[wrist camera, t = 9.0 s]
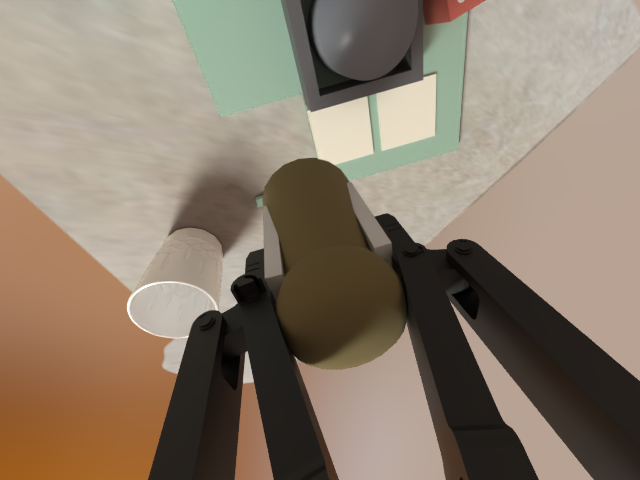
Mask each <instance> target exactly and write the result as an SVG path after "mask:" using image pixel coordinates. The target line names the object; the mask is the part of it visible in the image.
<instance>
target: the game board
mask: <svg viewBox="0 0 640 480" xmlns="http://www.w3.org/2000/svg"><path fill="white" fill-rule="evenodd" d="M172 1H173V4H174V6H175V9H176V11H177V13H178V16H179V18H180V21H181V23H182V25H183V28H184V30H185V33H186V35H187V37H188V40H189V42H190V45H191V47H192V49H193V52H194V54H195V57H196V59H197V61H198V64H199V66H200V69H201V71H202V74H203V76H204V78H205V81H206V83H207V86H208V88H209V90H210V93H211V95H212V98H213V100H214V102H215V105H216V107H217V110H218V112H219V114H220V117H223V116H227V115H230V114H234V113H237V112H241V111H244V110H248V109H251V108H255V107H258V106H261V105H265V104H268V103H272V102H275V101H279V100H282V99H286V98H289V97H293V96H296V95H300V94H302V95H303V100H304V104H305V108H306V112H307V116H308V121H309V125H310V129H311V133H312V137H313V141H314V146H315V150H316V154H317V158H318V159H321V160H325V161H329V162H330V163H332V164H333V165H335V166H337V167H338V168H340V169H341V170H342V172H343V173H344V174H345V176H346V177H347V178H348V180H349V181H352V180H355V179H358V178H362V177H365V176H369V175H372V174H376V173H379V172H382V171H386V170H389V169H393V168H396V167H400V166H403V165H406V164H410V163H413V162H417V161H420V160H424V159H427V158H430V157H434V156H437V155H441V154H444V153H448V152H451V151H454V150H458V145H459V131H460V117H461V103H462V89H463V74H464V60H465V46H466V32H467V18H468V11H467V12H466V13H464V14H463V15H461V16H459V17H458V18H456V19H454V20H453V21H451V22H445V23H437V24H430V25H426V23H425V19H424V14H423V0H418V19H417V26H416V30H415V34H414V37H413V40H412V42H411V45H410V47H409V49H408V51H407V52H406V54H405V56H404V57H403V58H402V60H401V61H400V62H399V63H398V64H397V66H395V67H394V68H393V69H392V70H391V71H390V72H388V73H387V74H385V75H383V76H381V77H379V78H376V79H373V80H366V81H361V80H355V79H351V78H348V77H346V76H343V75H340V74H337V73H335V72H333V71H331V70H329V69H328V68H326V67H325V66H324V65H323V64H322V63H321V62H320V61H319V59H318V58H317V56H316V54H315V52H314V51H313V48H312V45H311V42H310V38H309V32H308V16H309V10H310V6H311V3H312V0H172ZM262 199H263V195H261V196H257V197H255V201H256V204H257V206H258V208H259V207H263V202H262Z"/></svg>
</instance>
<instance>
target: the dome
mask: <svg viewBox="0 0 640 480" xmlns="http://www.w3.org/2000/svg"><path fill="white" fill-rule="evenodd" d="M417 19H418V0H312V3H311V6H310V10H309V16H308V32H309V38H310V42H311V45H312V48H313V51H314V52H315V54H316V56H317V58H318V59H319V61H320V62H321V63H322V64H323V65H324V66H325V67H326V68H328V69H329V70H331V71H333V72H335V73H337V74H340V75H343V76H346V77H348V78H351V79H355V80H361V81H366V80H373V79H376V78H379V77H381V76H383V75H385V74H387V73H388V72H390V71H391V70H392V69H393V68H394V67H395V66H397V64H398V63H399V62H400V61H401V60H402V58H403V57H404V56H405V54H406V52H407V51H408V49H409V47H410V45H411V42H412V40H413V37H414V34H415V30H416V26H417Z"/></svg>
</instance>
